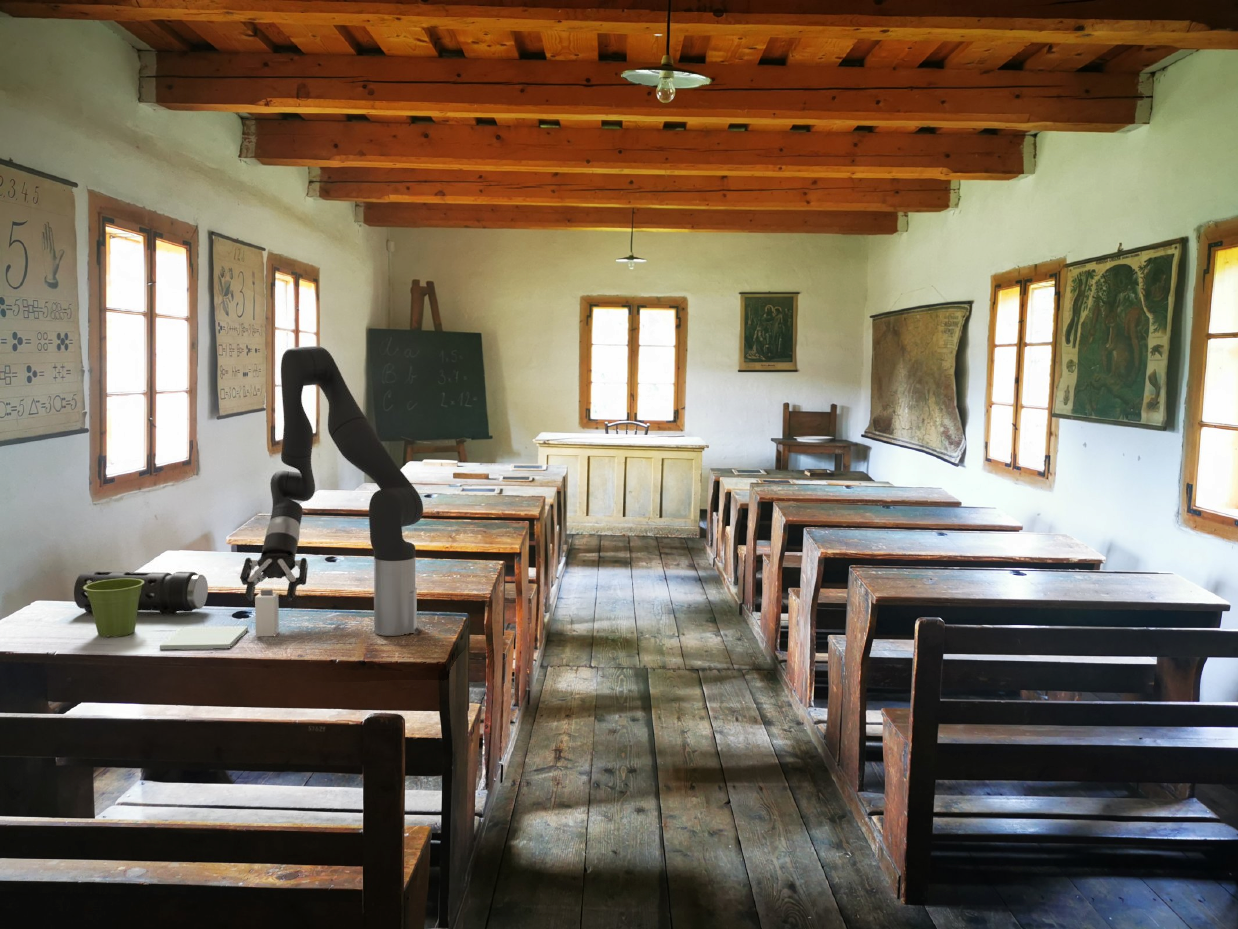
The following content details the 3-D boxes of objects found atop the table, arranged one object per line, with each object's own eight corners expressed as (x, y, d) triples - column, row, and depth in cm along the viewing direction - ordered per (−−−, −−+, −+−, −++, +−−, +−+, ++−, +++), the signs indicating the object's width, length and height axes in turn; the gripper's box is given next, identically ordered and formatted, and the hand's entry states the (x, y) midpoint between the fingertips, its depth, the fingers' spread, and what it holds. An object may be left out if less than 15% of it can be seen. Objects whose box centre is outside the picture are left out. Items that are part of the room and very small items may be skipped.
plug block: (278, 631, 205) (278, 588, 204) (274, 636, 201) (273, 592, 200) (260, 631, 205) (259, 588, 204) (255, 636, 201) (254, 592, 200)
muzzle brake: (95, 607, 223) (94, 566, 222) (210, 609, 224) (209, 568, 223) (73, 617, 214) (71, 574, 213) (192, 619, 214) (191, 576, 213)
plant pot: (111, 624, 208) (110, 576, 207) (157, 628, 206) (156, 579, 205) (72, 639, 196) (70, 588, 195) (120, 643, 194) (118, 591, 193)
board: (248, 630, 205) (247, 626, 205) (229, 648, 192) (229, 644, 191) (183, 631, 204) (183, 627, 204) (159, 649, 190) (159, 645, 190)
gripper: (247, 530, 211) (233, 590, 201) (309, 531, 213) (299, 590, 203) (253, 548, 217) (240, 607, 207) (314, 549, 219) (304, 607, 208)
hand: (269, 598), depth 205 cm, fingers open, 8 cm apart
